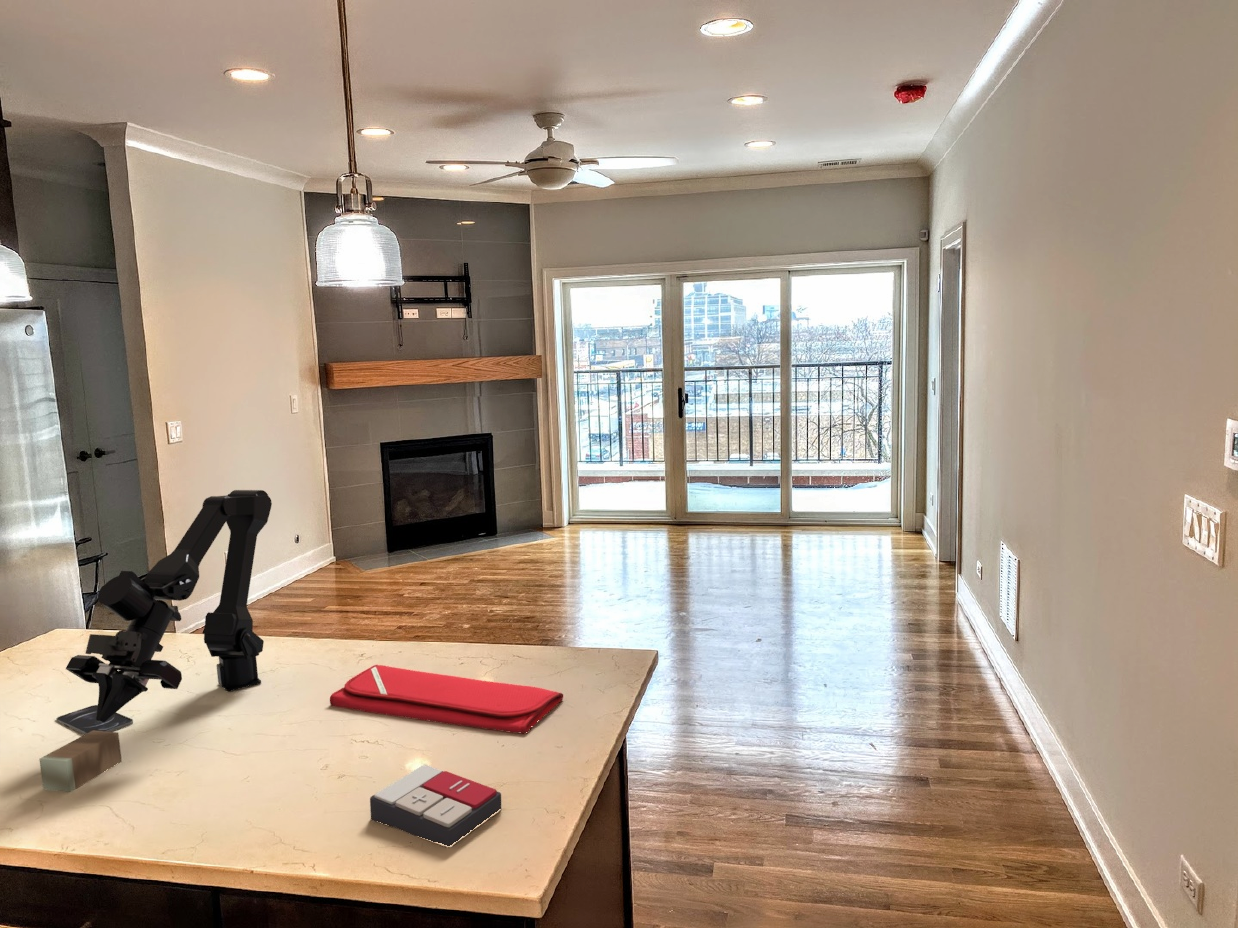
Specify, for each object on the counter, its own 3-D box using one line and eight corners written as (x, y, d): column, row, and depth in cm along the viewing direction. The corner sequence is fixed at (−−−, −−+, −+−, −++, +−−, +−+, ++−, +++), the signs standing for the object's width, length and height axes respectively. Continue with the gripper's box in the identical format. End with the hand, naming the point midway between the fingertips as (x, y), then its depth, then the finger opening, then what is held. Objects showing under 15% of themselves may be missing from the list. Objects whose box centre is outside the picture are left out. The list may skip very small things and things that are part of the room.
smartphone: (96, 704, 165) (135, 720, 156) (97, 708, 165) (136, 724, 157) (53, 718, 159) (91, 736, 150) (54, 722, 159) (92, 740, 151)
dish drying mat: (525, 738, 146) (524, 717, 146) (327, 709, 161) (326, 690, 161) (564, 701, 161) (563, 682, 160) (380, 678, 176) (378, 660, 175)
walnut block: (92, 730, 142) (39, 758, 133) (118, 732, 141) (66, 761, 132) (96, 759, 143) (43, 789, 133) (121, 761, 142) (70, 792, 132)
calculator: (448, 825, 113) (368, 792, 121) (449, 855, 114) (369, 820, 122) (502, 787, 122) (424, 759, 130) (503, 815, 123) (425, 785, 131)
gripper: (68, 609, 146) (17, 698, 137) (161, 613, 141) (115, 706, 132) (111, 638, 154) (65, 724, 145) (200, 643, 150) (159, 732, 141)
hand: (99, 721), depth 141 cm, fingers closed
